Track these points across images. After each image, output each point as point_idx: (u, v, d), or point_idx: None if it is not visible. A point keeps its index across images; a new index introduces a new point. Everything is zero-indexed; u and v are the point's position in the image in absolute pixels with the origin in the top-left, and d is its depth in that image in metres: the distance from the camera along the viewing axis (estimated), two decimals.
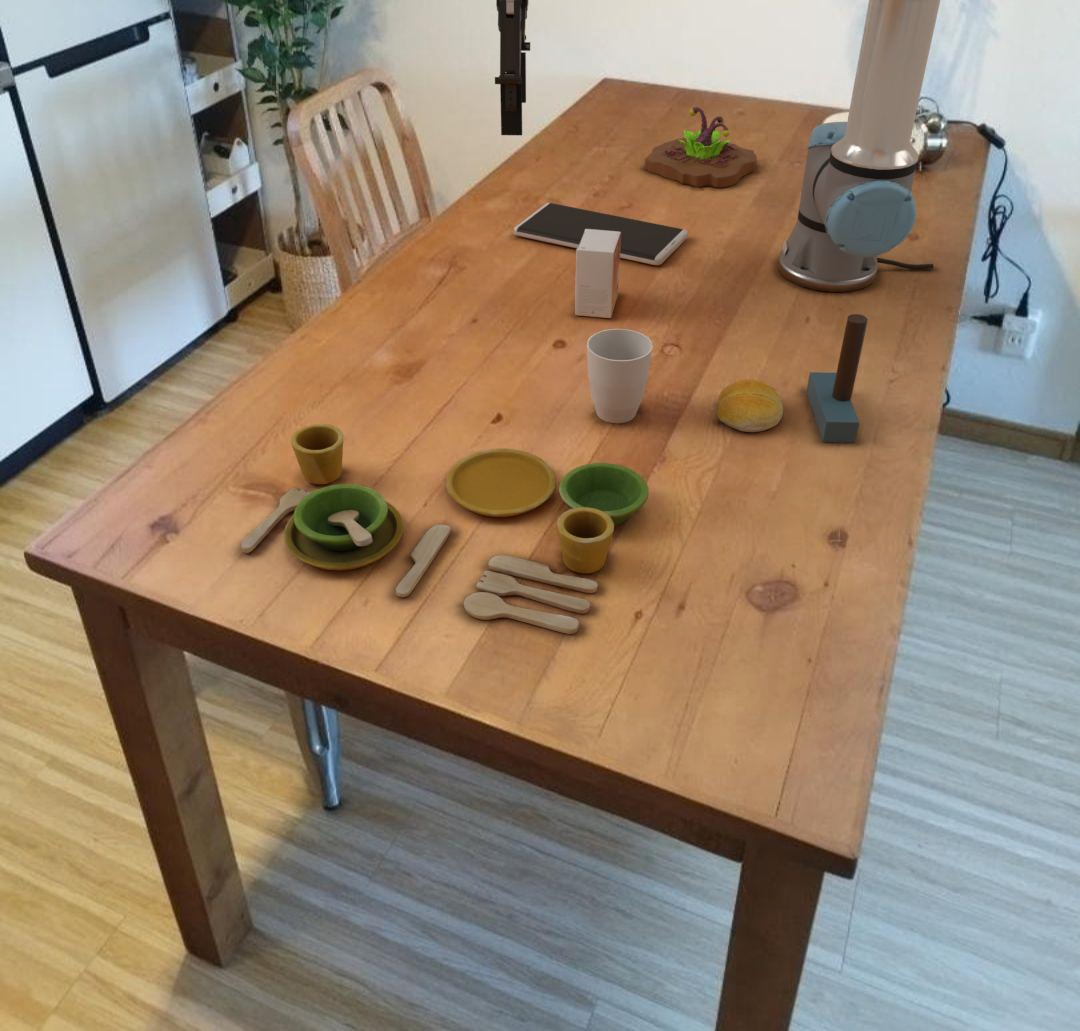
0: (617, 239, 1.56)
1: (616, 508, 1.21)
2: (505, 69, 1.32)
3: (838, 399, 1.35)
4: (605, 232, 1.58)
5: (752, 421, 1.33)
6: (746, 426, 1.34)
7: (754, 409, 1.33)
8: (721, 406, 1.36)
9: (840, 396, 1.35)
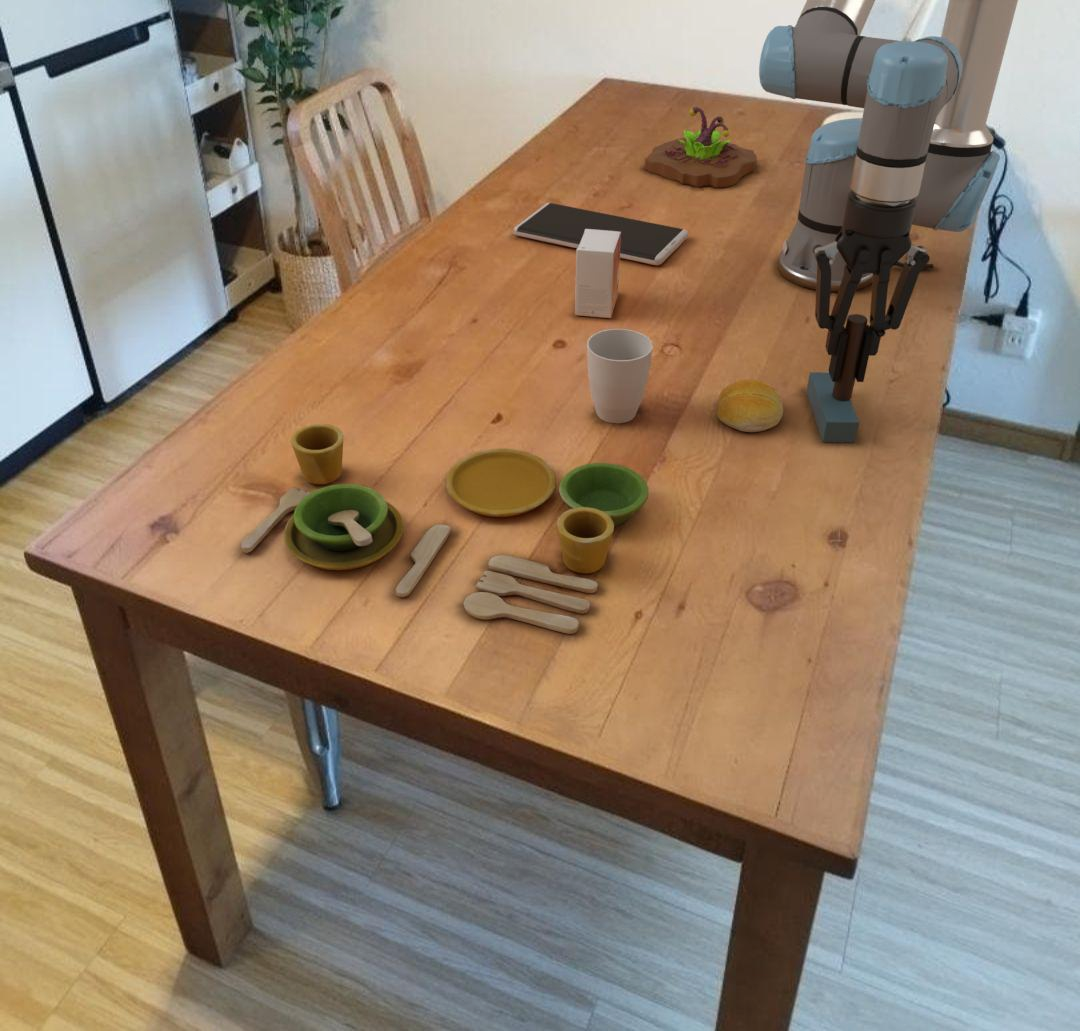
0: (617, 239, 1.56)
1: (616, 508, 1.21)
2: (816, 311, 1.29)
3: (838, 399, 1.35)
4: (605, 232, 1.58)
5: (752, 421, 1.33)
6: (746, 426, 1.34)
7: (754, 409, 1.33)
8: (721, 406, 1.36)
9: (840, 396, 1.35)
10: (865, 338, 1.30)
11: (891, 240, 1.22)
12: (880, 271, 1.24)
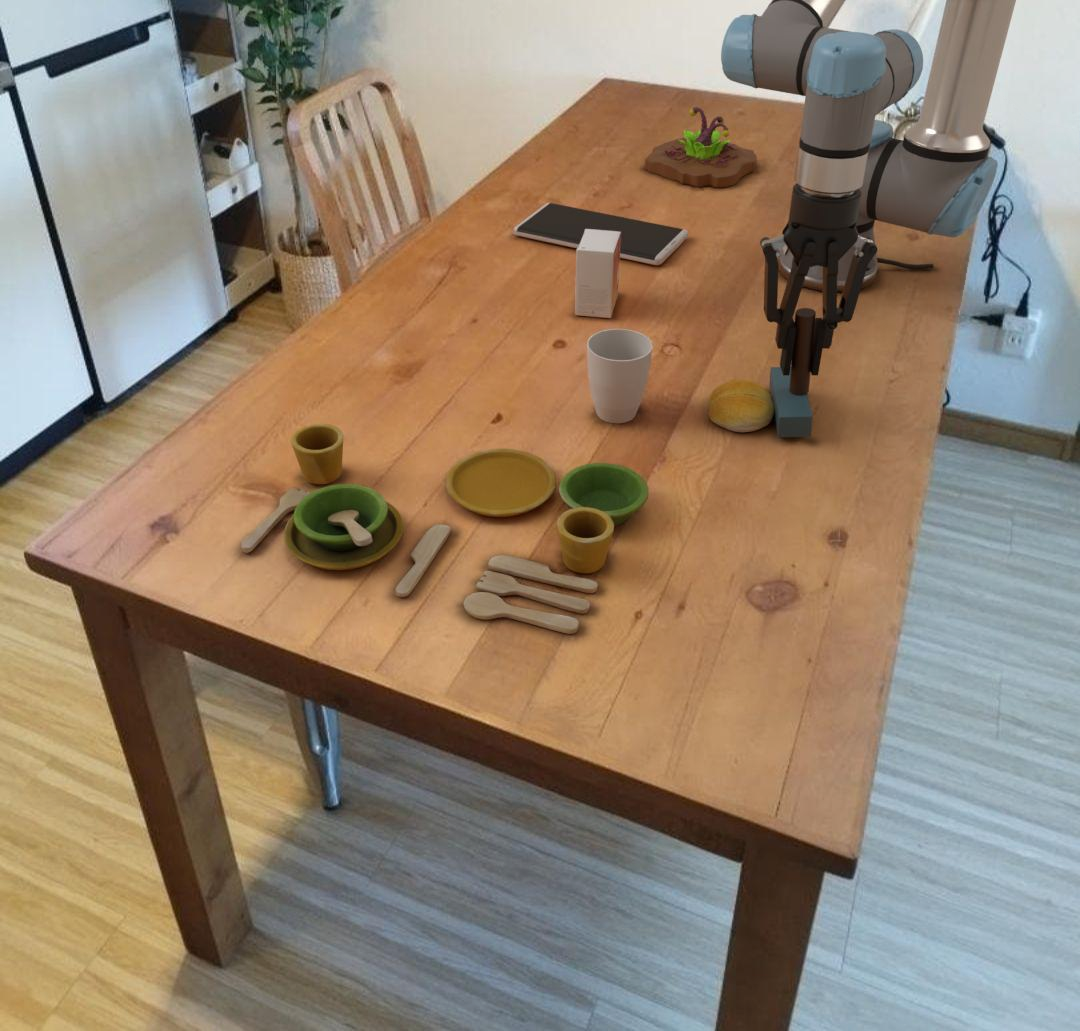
0: (617, 239, 1.56)
1: (616, 508, 1.21)
2: (764, 305, 1.29)
3: (794, 393, 1.35)
4: (605, 232, 1.58)
5: (744, 421, 1.33)
6: (738, 426, 1.34)
7: (746, 409, 1.33)
8: (713, 407, 1.36)
9: (796, 390, 1.34)
10: (818, 331, 1.29)
11: (837, 232, 1.22)
12: (828, 263, 1.23)
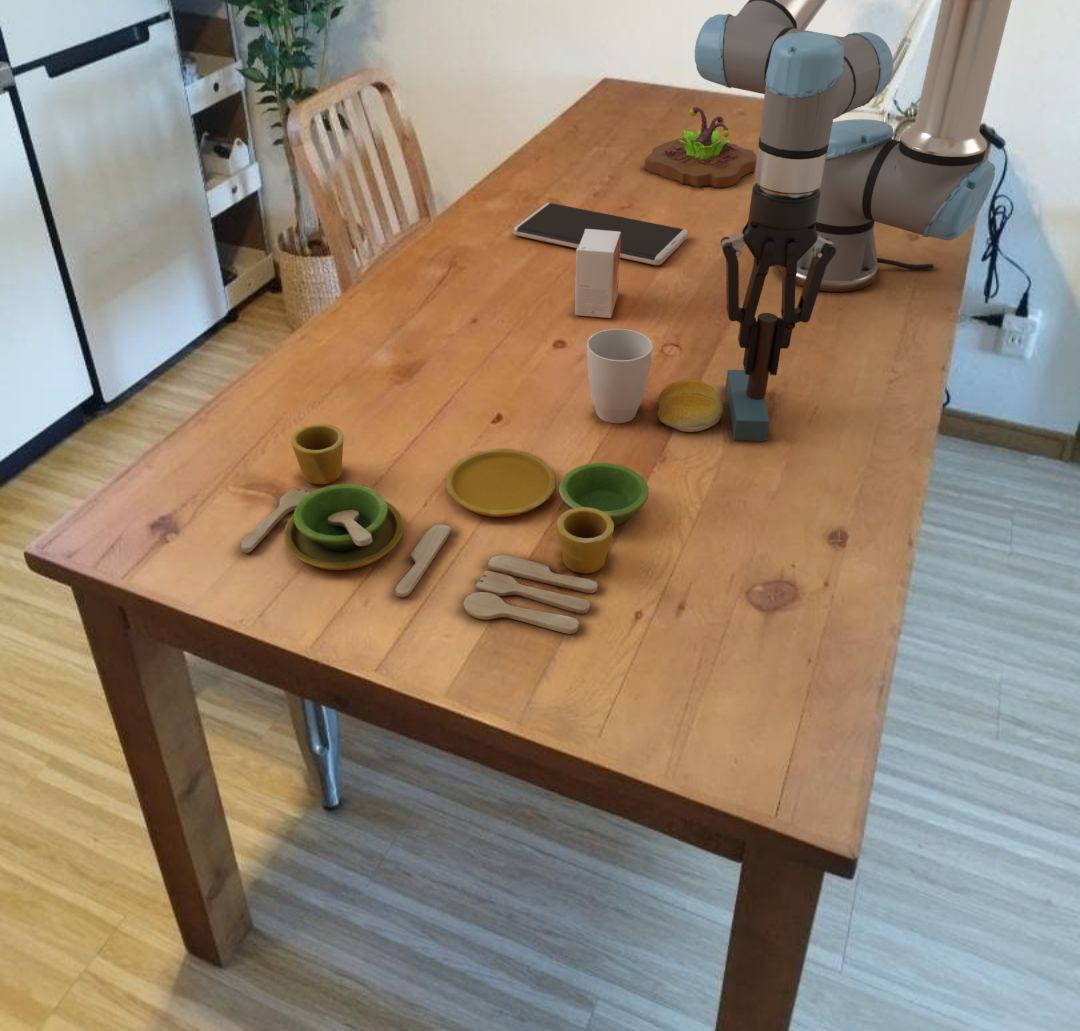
0: (617, 239, 1.56)
1: (616, 508, 1.21)
2: (727, 304, 1.29)
3: (751, 397, 1.35)
4: (605, 232, 1.58)
5: (692, 420, 1.33)
6: (686, 426, 1.34)
7: (694, 409, 1.33)
8: (661, 407, 1.36)
9: (753, 394, 1.35)
10: (776, 331, 1.30)
11: (797, 232, 1.22)
12: (787, 263, 1.24)
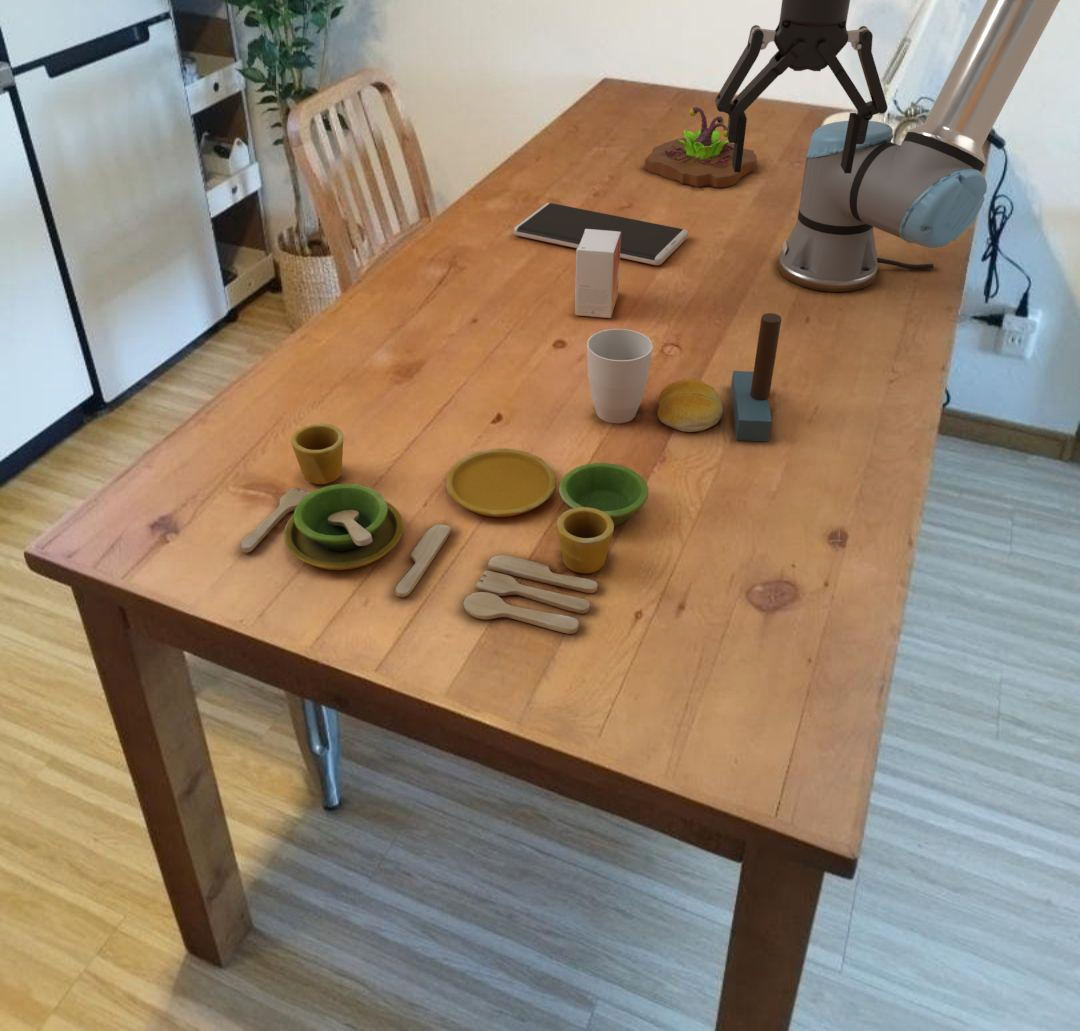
0: (617, 239, 1.56)
1: (616, 508, 1.21)
2: (720, 93, 1.29)
3: (755, 398, 1.35)
4: (605, 232, 1.58)
5: (692, 420, 1.33)
6: (686, 426, 1.34)
7: (694, 409, 1.33)
8: (661, 407, 1.36)
9: (757, 395, 1.35)
10: (852, 124, 1.29)
11: (825, 40, 1.23)
12: (828, 64, 1.24)
